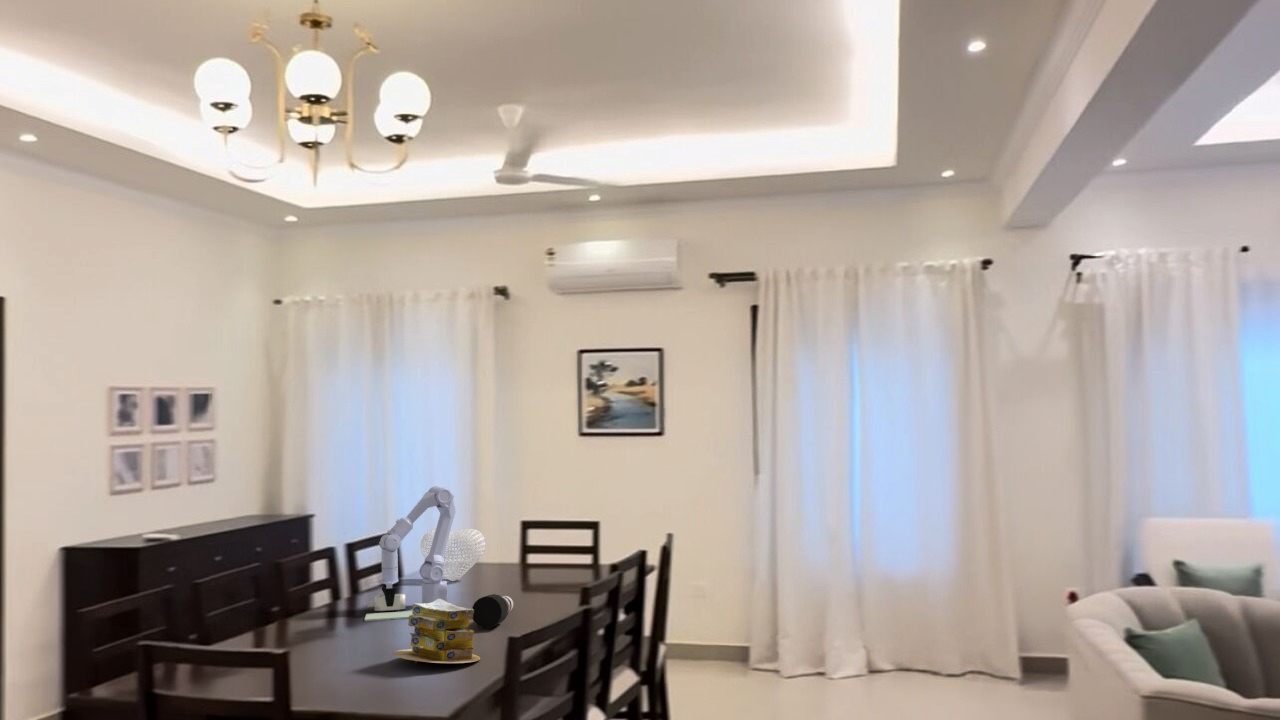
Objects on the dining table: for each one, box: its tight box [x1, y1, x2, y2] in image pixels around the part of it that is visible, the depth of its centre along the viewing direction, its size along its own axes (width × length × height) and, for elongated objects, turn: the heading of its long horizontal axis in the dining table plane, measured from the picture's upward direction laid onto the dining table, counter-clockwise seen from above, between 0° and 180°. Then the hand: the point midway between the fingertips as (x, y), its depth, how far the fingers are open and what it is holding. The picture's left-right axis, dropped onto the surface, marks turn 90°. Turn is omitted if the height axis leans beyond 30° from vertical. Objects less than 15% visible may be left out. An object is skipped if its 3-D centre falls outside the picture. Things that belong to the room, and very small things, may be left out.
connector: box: [367, 593, 407, 612], centre depth 353 cm, size 13×4×5 cm, turn 102°
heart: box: [420, 528, 487, 582], centre depth 416 cm, size 28×16×22 cm, turn 84°
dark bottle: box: [471, 593, 514, 629], centre depth 336 cm, size 10×34×10 cm, turn 173°
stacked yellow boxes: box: [391, 599, 481, 665], centre depth 279 cm, size 25×25×17 cm
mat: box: [364, 610, 413, 622], centre depth 343 cm, size 16×10×1 cm, turn 102°
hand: (390, 605), depth 353 cm, fingers closed on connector, 4 cm apart
